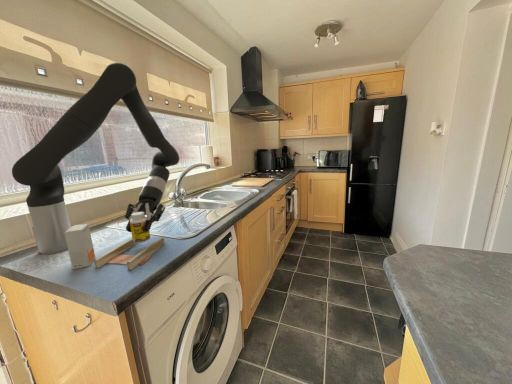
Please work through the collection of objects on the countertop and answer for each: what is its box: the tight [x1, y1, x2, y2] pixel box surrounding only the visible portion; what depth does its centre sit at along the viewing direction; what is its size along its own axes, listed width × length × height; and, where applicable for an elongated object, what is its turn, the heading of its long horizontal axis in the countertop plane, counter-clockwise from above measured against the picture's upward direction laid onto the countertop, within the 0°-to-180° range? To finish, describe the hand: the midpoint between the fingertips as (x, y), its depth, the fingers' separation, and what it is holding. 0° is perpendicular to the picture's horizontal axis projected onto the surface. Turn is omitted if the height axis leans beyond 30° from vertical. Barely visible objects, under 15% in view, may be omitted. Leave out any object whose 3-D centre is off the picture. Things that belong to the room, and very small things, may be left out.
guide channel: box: [93, 236, 165, 271], centre depth 70 cm, size 15×17×2 cm
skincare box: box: [64, 223, 96, 270], centre depth 64 cm, size 6×4×12 cm
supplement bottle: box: [130, 212, 151, 244], centre depth 73 cm, size 6×6×10 cm
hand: (136, 231), depth 72 cm, fingers closed on supplement bottle, 5 cm apart
